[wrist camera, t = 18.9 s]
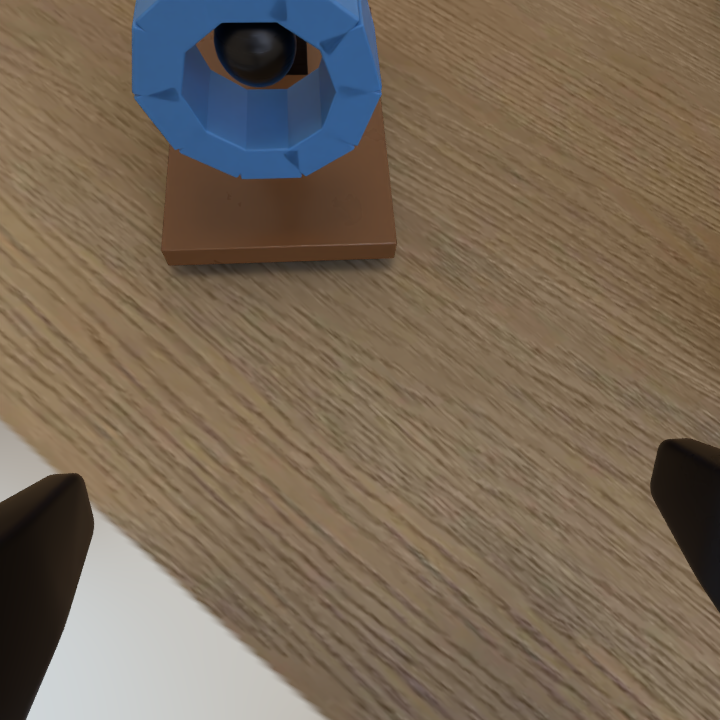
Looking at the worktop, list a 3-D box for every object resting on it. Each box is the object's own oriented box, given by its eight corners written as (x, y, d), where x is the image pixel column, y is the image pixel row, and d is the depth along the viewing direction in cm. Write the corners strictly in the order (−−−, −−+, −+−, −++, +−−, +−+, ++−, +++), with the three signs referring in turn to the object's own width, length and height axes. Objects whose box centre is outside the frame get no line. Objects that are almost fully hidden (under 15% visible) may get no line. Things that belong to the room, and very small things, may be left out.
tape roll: (374, 176, 20) (392, -32, 14) (166, 182, 20) (83, -32, 13) (367, 117, 22) (382, -99, 15) (172, 121, 21) (99, -101, 15)
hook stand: (394, 258, 25) (439, 25, 15) (168, 266, 24) (46, 27, 14) (369, 27, 31) (388, -260, 20) (185, 27, 30) (108, -269, 20)
